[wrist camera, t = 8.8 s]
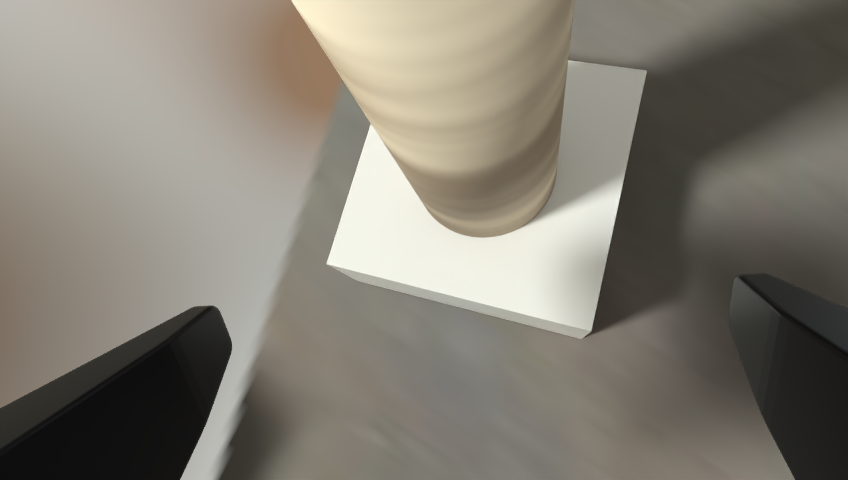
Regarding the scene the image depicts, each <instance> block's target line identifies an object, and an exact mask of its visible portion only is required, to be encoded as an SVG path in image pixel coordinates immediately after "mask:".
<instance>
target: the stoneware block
mask: <svg viewBox="0 0 848 480" xmlns="http://www.w3.org/2000/svg"><path fill="white" fill-rule="evenodd" d="M646 73H647V71H646V70H638V69H631V68H623V67H616V66H608V65H601V64H593V63H586V62H578V61H571V60H568V68H567V78H566V87H565V97H564V106H563V116H562V126H561V135H560V145H559V154H558V164H557V174H556V180H555V185H554V188H553V191H552V194H551V195H550V197H549V199H548V201H547V203H546V204H545V206H544V207H543V209H542V210H541V211H540V212H539V213H538V214H537V215H536V217H534V218H533V219H532V220H531V221H530V222H528V223H527V224H525V225H524V226H522V227H521V228H519V229H517V230H515V231H513V232H510V233H507V234H504V235H500V236H495V237H486V238H480V237H470V236H465V235H462V234H459V233H456V232H454V231H451V230H449V229H447V228H446V227H444V226H443V225H441V224H440V223H439V222H438V221H436V220H435V219H434V218H433V217H432V216H431V214H430V213H429V212H428V211H427V209H426V208H425V206H424V205H423V203H422V202H421V200H420V198H419V197H418V195H417V194H416V192H415V191H414V189H413V188H412V186H411V185H410V183H409V181H408V180H407V178H406V177H405V175H404V174H403V172H402V171H401V169H400V168H399V166H398V164H397V163H396V161H395V160H394V158H393V157H392V155H391V154H390V152H389V151H388V149H387V147H386V146H385V144H384V143H383V141H382V140H381V138H380V137H379V135H378V134H377V132H376V130H375V129H374V127H373V126H372V124H371V125H370V128H369V132H368V135H367V138H366V141H365V144H364V147H363V151H362V154H361V157H360V160H359V163H358V166H357V170H356V173H355V176H354V179H353V182H352V185H351V189H350V192H349V195H348V198H347V201H346V204H345V208H344V211H343V214H342V217H341V220H340V223H339V226H338V230H337V233H336V236H335V239H334V242H333V245H332V249H331V252H330V255H329V258H328V261H327V264H328V265H329V266H331V267H333V268H335V269H337V270H339V271H340V272H342V273H344V274H346V275H348V276H350V277H351V278H353V279H355V280H357V281H360V282H364V283H368V284H371V285H375V286H379V287H383V288H387V289H391V290H394V291H398V292H402V293H406V294H410V295H414V296H418V297H421V298H425V299H429V300H433V301H437V302H441V303H445V304H448V305H452V306H456V307H460V308H464V309H468V310H471V311H475V312H479V313H483V314H487V315H491V316H495V317H498V318H502V319H506V320H510V321H514V322H518V323H522V324H525V325H529V326H533V327H537V328H541V329H545V330H549V331H552V332H556V333H560V334H564V335H568V336H572V337H575V338H579V339H582V338H583V337H585V336H586V335H587V334H589V333H590V332H591V331H592V326H593V321H594V317H595V312H596V307H597V303H598V298H599V293H600V289H601V284H602V279H603V274H604V270H605V265H606V260H607V256H608V251H609V246H610V242H611V237H612V232H613V228H614V223H615V218H616V213H617V209H618V204H619V199H620V195H621V190H622V185H623V181H624V176H625V171H626V167H627V162H628V157H629V153H630V148H631V143H632V138H633V134H634V129H635V124H636V120H637V115H638V110H639V106H640V101H641V96H642V92H643V87H644V82H645V77H646Z"/></svg>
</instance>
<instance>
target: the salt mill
mask: <svg viewBox="0 0 848 480" xmlns="http://www.w3.org/2000/svg"><path fill="white" fill-rule="evenodd" d="M291 1H292V2H293V4H294V5H295V7H296V8H297V10H298V11H299V13H300V15H301V16H302V18H303V19H304V21H305V22H306V24H307V25H308V27H309V28H310V30H311V32H312V33H313V35H314V36H315V38H316V39H317V41H318V42H319V44H320V45H321V47H322V49H323V50H324V52H325V53H326V54H327V56H328V58H329V59H330V61H331V62H332V64H333V66H334V67H335V68H336V70H337V72H338V73H339V75H340V76H341V78H342V79H343V81H344V83H345V84H346V86H347V87H348V89H349V90H350V92H351V93H352V95H353V96H354V98H355V100H356V101H357V103H358V104H359V106H360V107H361V109H362V110H363V112H364V113H365V115H366V117H367V118H368V120H369V121H370V123H371V124H372V126H373V127H374V129H375V130H376V132H377V134H378V135H379V137H380V138H381V140H382V141H383V143H384V144H385V146H386V147H387V149H388V151H389V152H390V154H391V155H392V157H393V158H394V160H395V161H396V163H397V164H398V166H399V168H400V169H401V171H402V172H403V174H404V175H405V177H406V178H407V180H408V181H409V183H410V185H411V186H412V188H413V189H414V191H415V192H416V194H417V195H418V197H419V198H420V200H421V202H422V203H423V205H424V206H425V208H426V209H427V211H428V212H429V213H430V214H431V216H432V217H433V218H434V219H435V220H436V221H438V222H439V223H440V224H441V225H443V226H444V227H446V228H447V229H449V230H451V231H454V232H456V233H459V234H462V235H465V236H470V237H480V238H486V237H495V236H500V235H504V234H507V233H510V232H513V231H515V230H517V229H519V228H521V227H522V226H524V225H525V224H527V223H528V222H530V221H531V220H532V219H533V218H534V217H536V215H537V214H538V213H539V212H540V211H541V210H542V209H543V207H544V206H545V204H546V203H547V201H548V199H549V197H550V195H551V194H552V191H553V188H554V185H555V180H556V174H557V164H558V154H559V145H560V135H561V126H562V116H563V106H564V97H565V87H566V78H567V68H568V58H569V49H570V39H571V29H572V20H573V10H574V1H575V0H291Z"/></svg>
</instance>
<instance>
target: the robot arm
mask: <svg viewBox="0 0 848 480" xmlns="http://www.w3.org/2000/svg"><path fill="white" fill-rule="evenodd" d="M729 329H730V332H731V335H732V338H733V341H734V343H735V346H736V349H737V351H738V354H739V357H740V359H741V362H742V365H743V367H744V370H745V373H746V375H747V378H748V381H749V383H750V386H751V389H752V391H753V394H754V397H755V399H756V402H757V404H758V407H759V409H760V412H761V414H762V416H763V418H764V420H765V422H766V424H767V427H768V429H769V431H770V432H771V434H772V436H773V438H774V440H775V442H776V444H777V446H778V448H779V450H780V452H781V454H782V455H783V457H784V459H785V461H786V463H787V465H788V467H789V469H790V471H791V473H792V475H793V476H794V478H795V480H848V309H846V308H844V307H842V306H839V305H837V304H835V303H833V302H830V301H828V300H826V299H823V298H821V297H819V296H817V295H814V294H812V293H810V292H807V291H805V290H803V289H801V288H798V287H796V286H794V285H791V284H789V283H787V282H784V281H782V280H780V279H778V278H775V277H773V276H771V275H768V274H765V273H756V274H741V275H738V276H737V277H736V278H735V280H734V282H733V287H732V295H731V302H730V310H729ZM231 351H232V342H231V338H230V336H229V333H228V331H227V328H226V325H225V323H224V320H223V318H222V316H221V313H220V311H219V309H218V308H217V307H215V306H196V307H193V308H190V309H188V310H187V311H185V312H183V313H181V314H179V315H177V316H175V317H173V318H171V319H169V320H167V321H166V322H164V323H162V324H160V325H158V326H156V327H154V328H152V329H150V330H148V331H147V332H145V333H143V334H141V335H139V336H137V337H135V338H133V339H131V340H129V341H128V342H126V343H124V344H122V345H120V346H118V347H116V348H114V349H112V350H111V351H108V352H107V353H105V354H103V355H101V356H99V357H97V358H95V359H93V360H91V361H90V362H88V363H86V364H84V365H82V366H80V367H78V368H76V369H74V370H72V371H70V372H69V373H67V374H65V375H63V376H61V377H59V378H57V379H55V380H53V381H51V382H49V383H48V384H46V385H44V386H42V387H40V388H38V389H36V390H34V391H32V392H30V393H29V394H27V395H25V396H23V397H21V398H19V399H17V400H15V401H13V402H11V403H9V404H8V405H6V406H4V407H2V408H0V480H180V478H181V477H182V474H183V472H184V470H185V468H186V466H187V464H188V462H189V460H190V457H191V455H192V453H193V451H194V449H195V447H196V445H197V443H198V440H199V438H200V436H201V434H202V432H203V429H204V427H205V425H206V422H207V420H208V417H209V414H210V412H211V409H212V406H213V404H214V401H215V398H216V395H217V392H218V389H219V386H220V383H221V381H222V378H223V375H224V372H225V369H226V367H227V364H228V361H229V358H230V355H231Z"/></svg>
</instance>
